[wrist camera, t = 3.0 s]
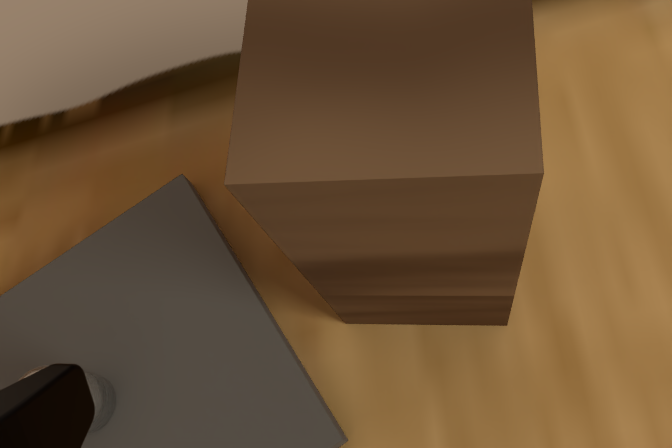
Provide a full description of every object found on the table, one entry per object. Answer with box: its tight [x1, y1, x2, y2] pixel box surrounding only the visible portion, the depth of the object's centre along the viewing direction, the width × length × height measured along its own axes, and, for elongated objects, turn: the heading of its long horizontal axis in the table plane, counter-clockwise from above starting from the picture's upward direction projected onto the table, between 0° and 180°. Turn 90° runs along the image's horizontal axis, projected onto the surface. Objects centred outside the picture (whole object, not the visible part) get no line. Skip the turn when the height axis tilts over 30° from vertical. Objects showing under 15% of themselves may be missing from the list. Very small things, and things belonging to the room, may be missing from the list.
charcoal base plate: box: [0, 174, 348, 448], centre depth 23 cm, size 14×12×1 cm
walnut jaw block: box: [224, 0, 544, 326], centre depth 17 cm, size 6×6×12 cm
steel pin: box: [18, 365, 116, 434], centre depth 21 cm, size 2×2×4 cm
